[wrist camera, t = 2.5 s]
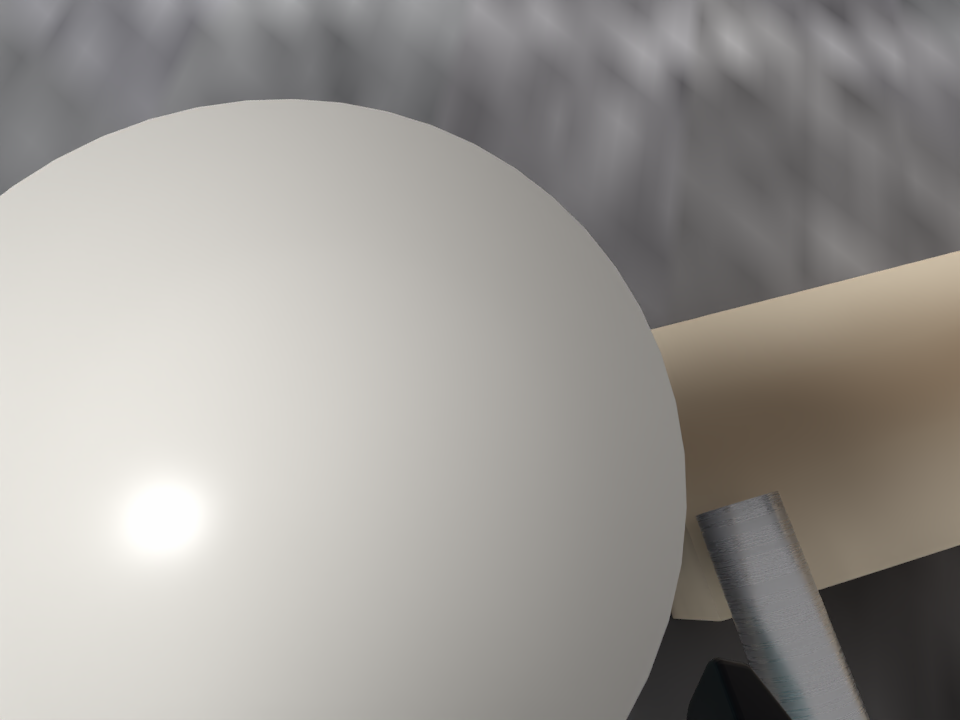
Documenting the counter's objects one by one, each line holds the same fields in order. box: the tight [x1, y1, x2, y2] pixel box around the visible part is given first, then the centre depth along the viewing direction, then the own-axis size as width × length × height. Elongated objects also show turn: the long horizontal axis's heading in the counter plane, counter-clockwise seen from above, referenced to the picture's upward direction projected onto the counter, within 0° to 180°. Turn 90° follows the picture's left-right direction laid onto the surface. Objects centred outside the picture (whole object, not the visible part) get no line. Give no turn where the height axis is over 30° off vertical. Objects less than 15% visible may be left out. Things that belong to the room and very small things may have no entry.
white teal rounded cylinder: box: [0, 99, 687, 720], centre depth 11 cm, size 6×6×13 cm
